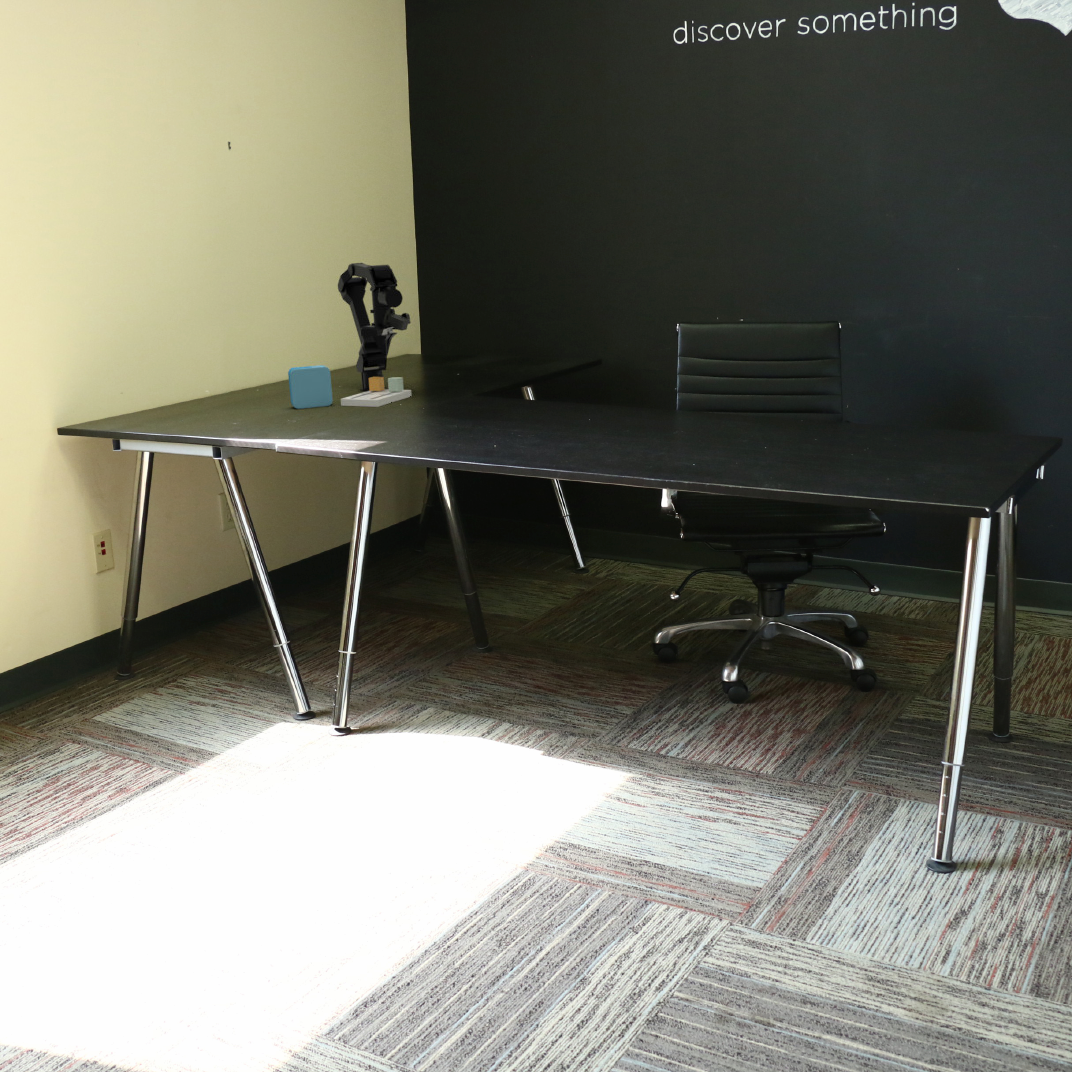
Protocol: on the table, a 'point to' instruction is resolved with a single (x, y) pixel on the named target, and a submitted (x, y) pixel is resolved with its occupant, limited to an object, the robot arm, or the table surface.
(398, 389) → the sage fader
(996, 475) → the table surface
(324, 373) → the blue rounded block
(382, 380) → the amber fader
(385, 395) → the mixer console
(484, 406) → the table surface
